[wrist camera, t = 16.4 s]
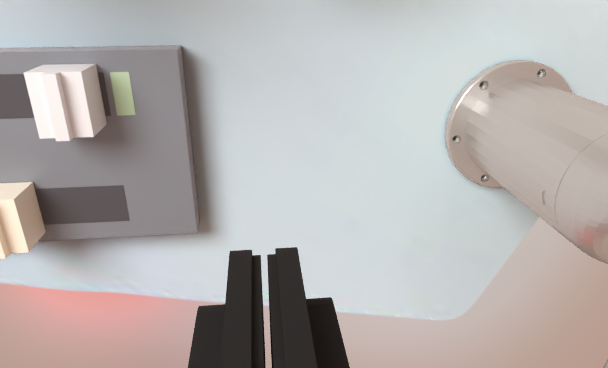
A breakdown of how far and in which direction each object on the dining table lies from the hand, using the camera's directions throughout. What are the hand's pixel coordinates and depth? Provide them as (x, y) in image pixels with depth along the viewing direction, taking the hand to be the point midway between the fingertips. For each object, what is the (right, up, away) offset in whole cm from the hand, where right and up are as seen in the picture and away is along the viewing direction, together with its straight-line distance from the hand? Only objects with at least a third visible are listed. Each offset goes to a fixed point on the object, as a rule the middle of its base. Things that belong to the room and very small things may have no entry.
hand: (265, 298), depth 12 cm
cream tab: (-25, +1, +29) cm, 38 cm away
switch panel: (-22, +6, +30) cm, 37 cm away
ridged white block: (-18, +10, +26) cm, 33 cm away
